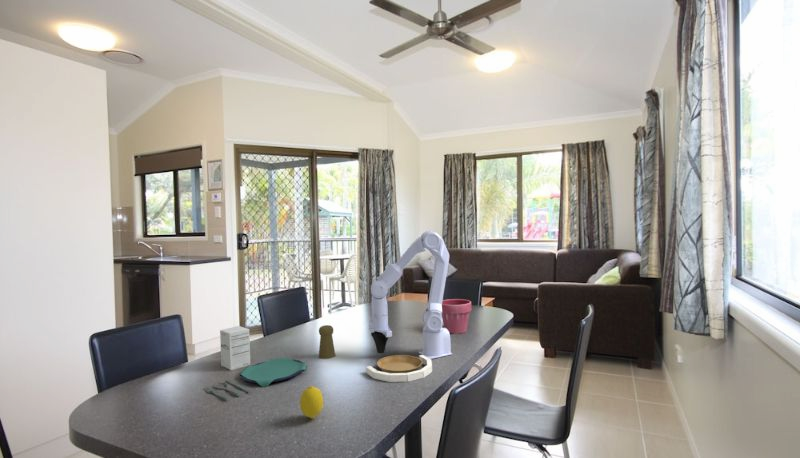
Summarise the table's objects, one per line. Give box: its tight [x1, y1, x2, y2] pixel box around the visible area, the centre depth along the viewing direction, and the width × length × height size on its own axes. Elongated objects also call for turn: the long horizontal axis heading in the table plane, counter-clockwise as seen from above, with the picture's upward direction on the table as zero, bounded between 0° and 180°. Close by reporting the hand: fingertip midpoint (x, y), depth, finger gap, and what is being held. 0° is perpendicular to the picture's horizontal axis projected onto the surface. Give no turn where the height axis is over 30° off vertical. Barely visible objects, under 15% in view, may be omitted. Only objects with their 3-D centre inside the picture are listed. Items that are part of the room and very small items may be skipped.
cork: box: [318, 325, 336, 360], centre depth 147 cm, size 6×6×11 cm
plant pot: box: [442, 298, 472, 335], centre depth 175 cm, size 14×14×13 cm
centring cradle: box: [365, 354, 433, 383], centre depth 128 cm, size 21×13×2 cm, turn 118°
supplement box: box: [219, 325, 251, 371], centre depth 140 cm, size 7×7×13 cm
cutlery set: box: [202, 357, 308, 402], centre depth 127 cm, size 20×30×2 cm, turn 138°
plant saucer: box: [376, 354, 423, 373], centre depth 132 cm, size 15×15×3 cm
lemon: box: [299, 385, 324, 419], centre depth 100 cm, size 6×6×8 cm
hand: (380, 352), depth 144 cm, fingers closed
